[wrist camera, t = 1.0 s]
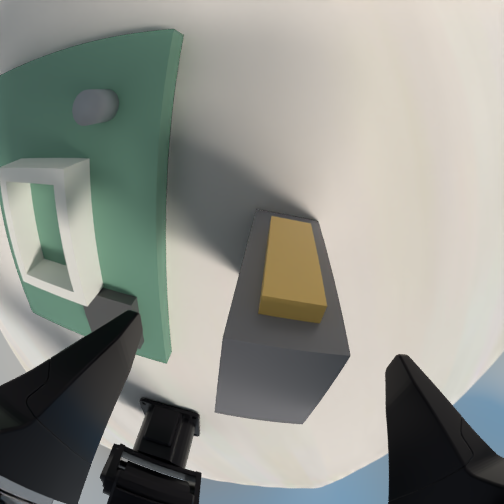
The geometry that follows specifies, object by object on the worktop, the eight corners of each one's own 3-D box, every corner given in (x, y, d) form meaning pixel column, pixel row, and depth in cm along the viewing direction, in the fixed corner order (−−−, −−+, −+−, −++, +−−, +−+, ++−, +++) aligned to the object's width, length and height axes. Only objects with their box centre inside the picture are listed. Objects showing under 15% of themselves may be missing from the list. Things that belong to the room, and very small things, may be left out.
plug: (292, 309, 15) (290, 439, 9) (241, 300, 16) (212, 428, 9) (321, 209, 12) (360, 338, 5) (258, 197, 12) (225, 318, 6)
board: (171, 351, 19) (158, 385, 16) (39, 304, 19) (21, 326, 16) (183, 35, 9) (153, 16, 6) (8, 75, 9) (-25, 80, 6)
